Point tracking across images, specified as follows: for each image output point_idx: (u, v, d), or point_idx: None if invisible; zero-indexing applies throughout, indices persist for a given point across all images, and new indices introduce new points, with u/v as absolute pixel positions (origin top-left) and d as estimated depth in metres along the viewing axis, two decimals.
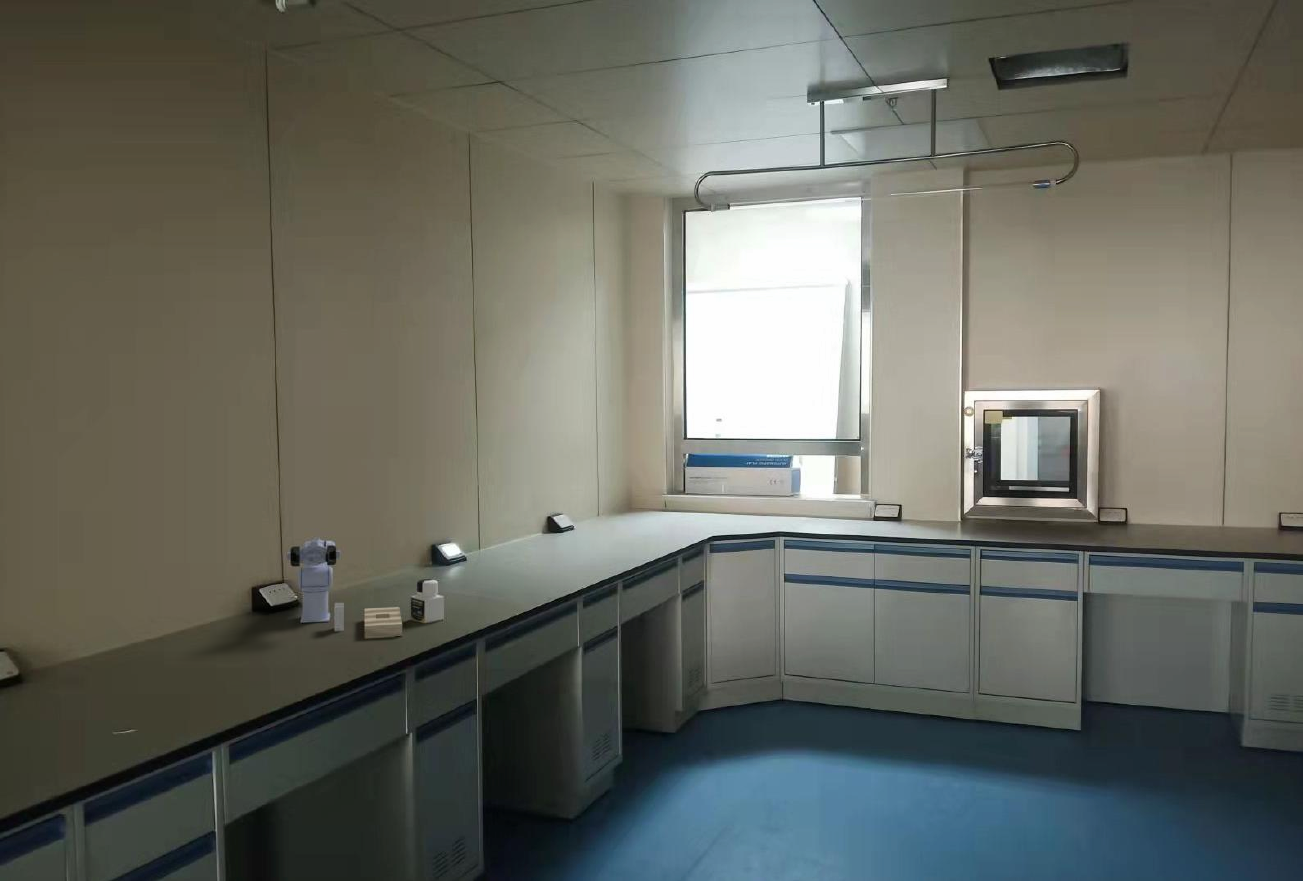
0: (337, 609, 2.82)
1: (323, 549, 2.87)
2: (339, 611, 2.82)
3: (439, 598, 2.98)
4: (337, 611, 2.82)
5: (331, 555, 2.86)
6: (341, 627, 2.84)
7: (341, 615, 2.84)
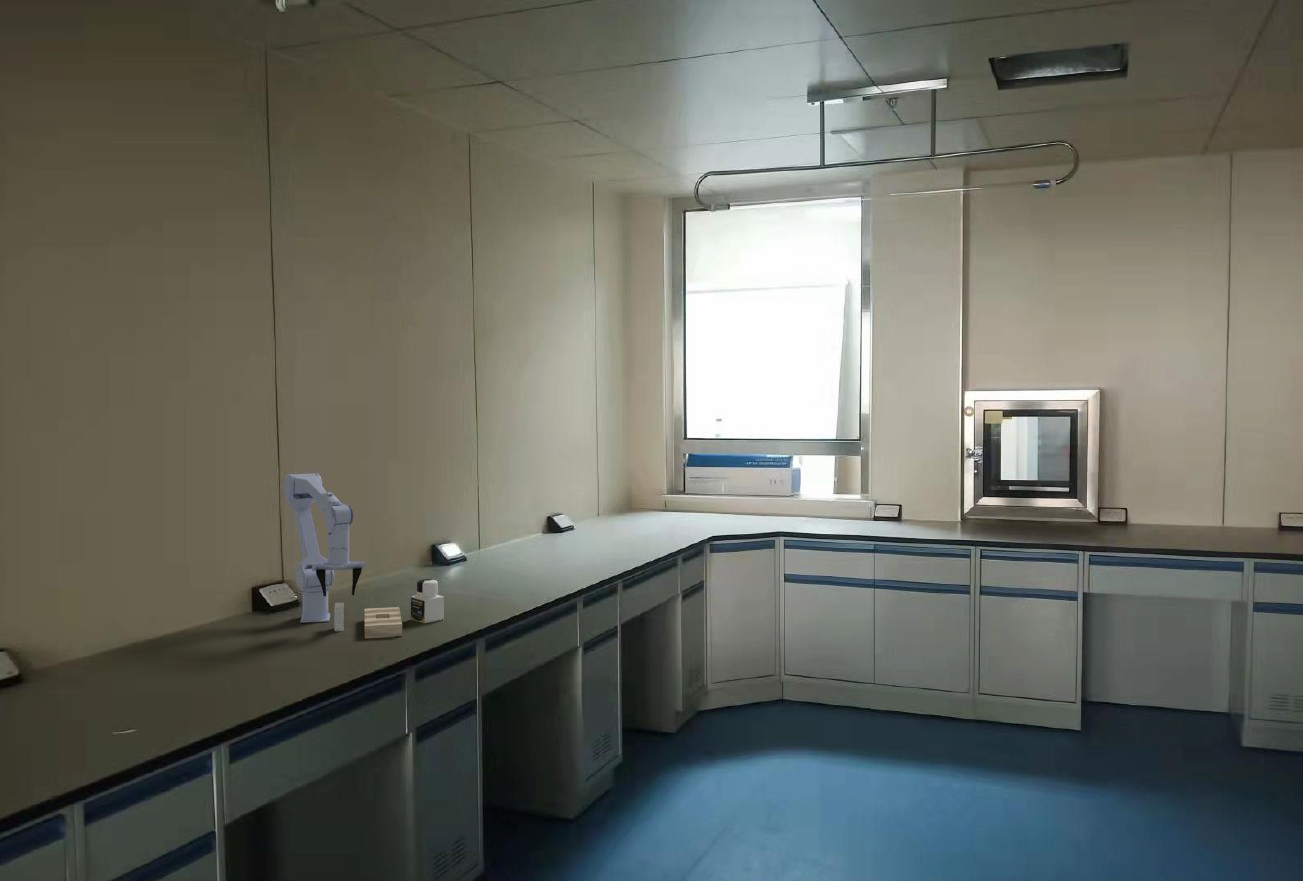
0: (337, 609, 2.82)
1: None
2: (339, 611, 2.82)
3: (439, 598, 2.98)
4: (337, 611, 2.82)
5: None
6: (341, 627, 2.84)
7: (341, 615, 2.84)
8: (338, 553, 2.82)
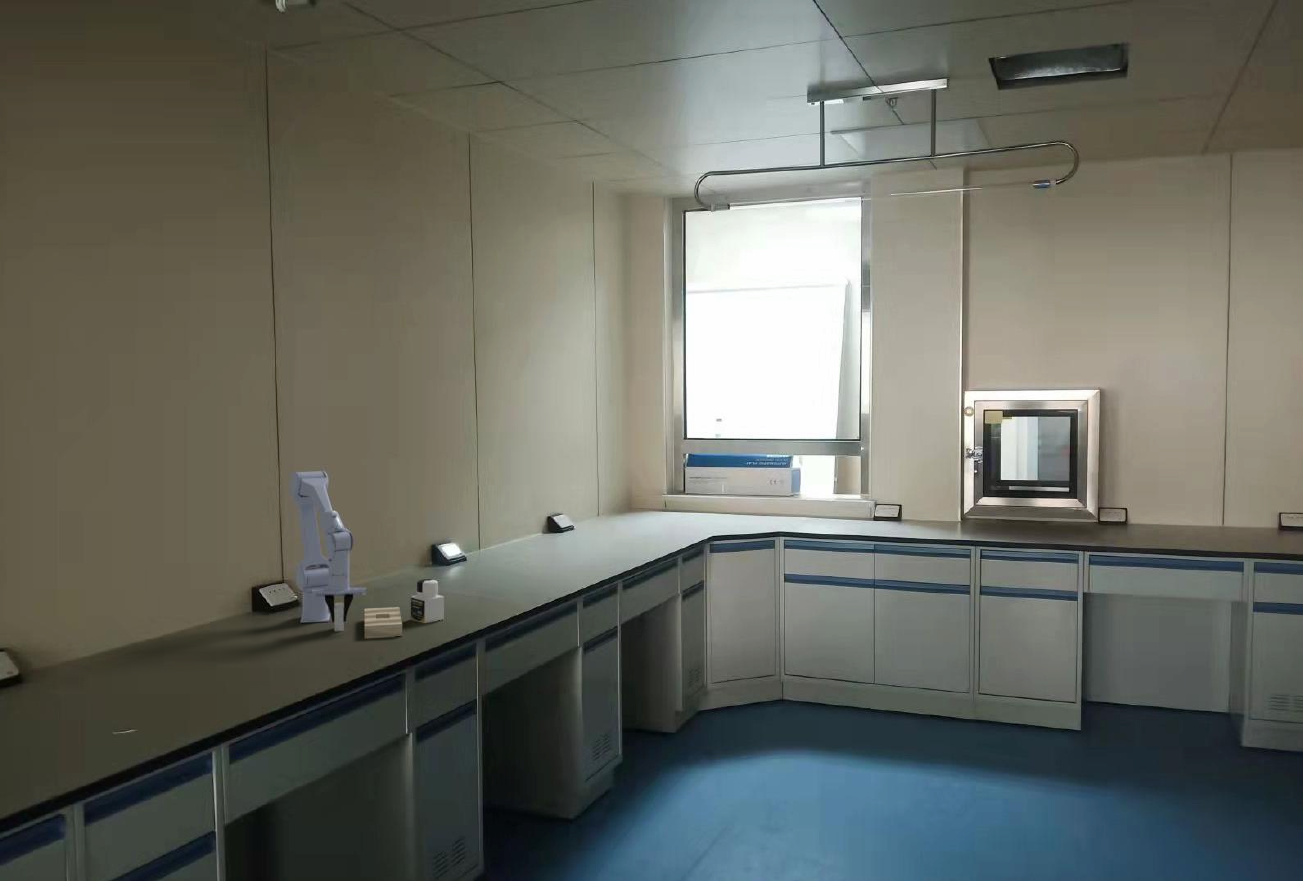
0: (337, 609, 2.82)
1: (348, 592, 2.85)
2: (339, 611, 2.82)
3: (439, 598, 2.98)
4: (337, 611, 2.82)
5: None
6: (341, 627, 2.84)
7: (341, 615, 2.84)
8: (338, 580, 2.82)
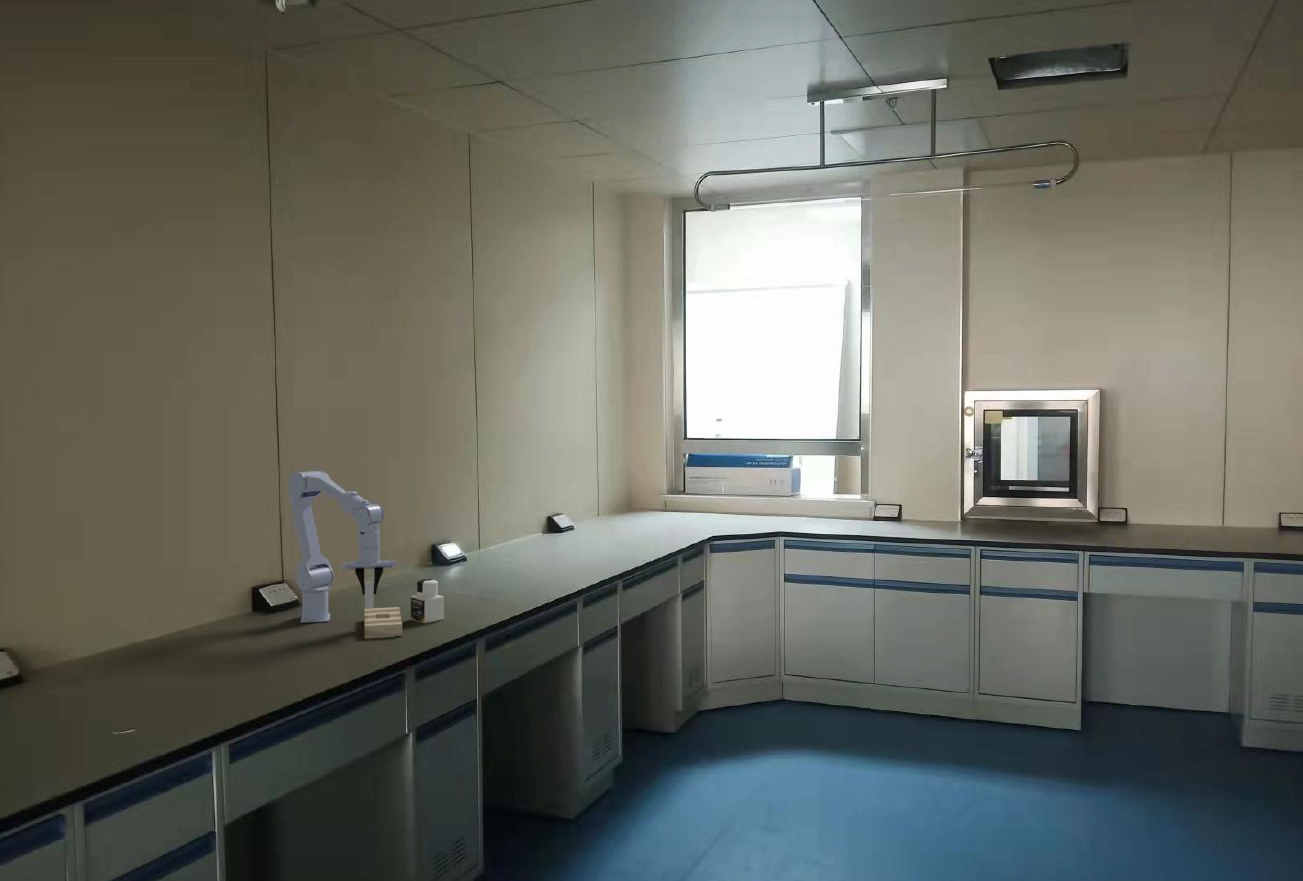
0: (367, 587, 2.83)
1: None
2: (369, 589, 2.84)
3: (439, 598, 2.98)
4: (367, 589, 2.83)
5: None
6: (371, 605, 2.85)
7: (371, 593, 2.85)
8: (368, 552, 2.84)
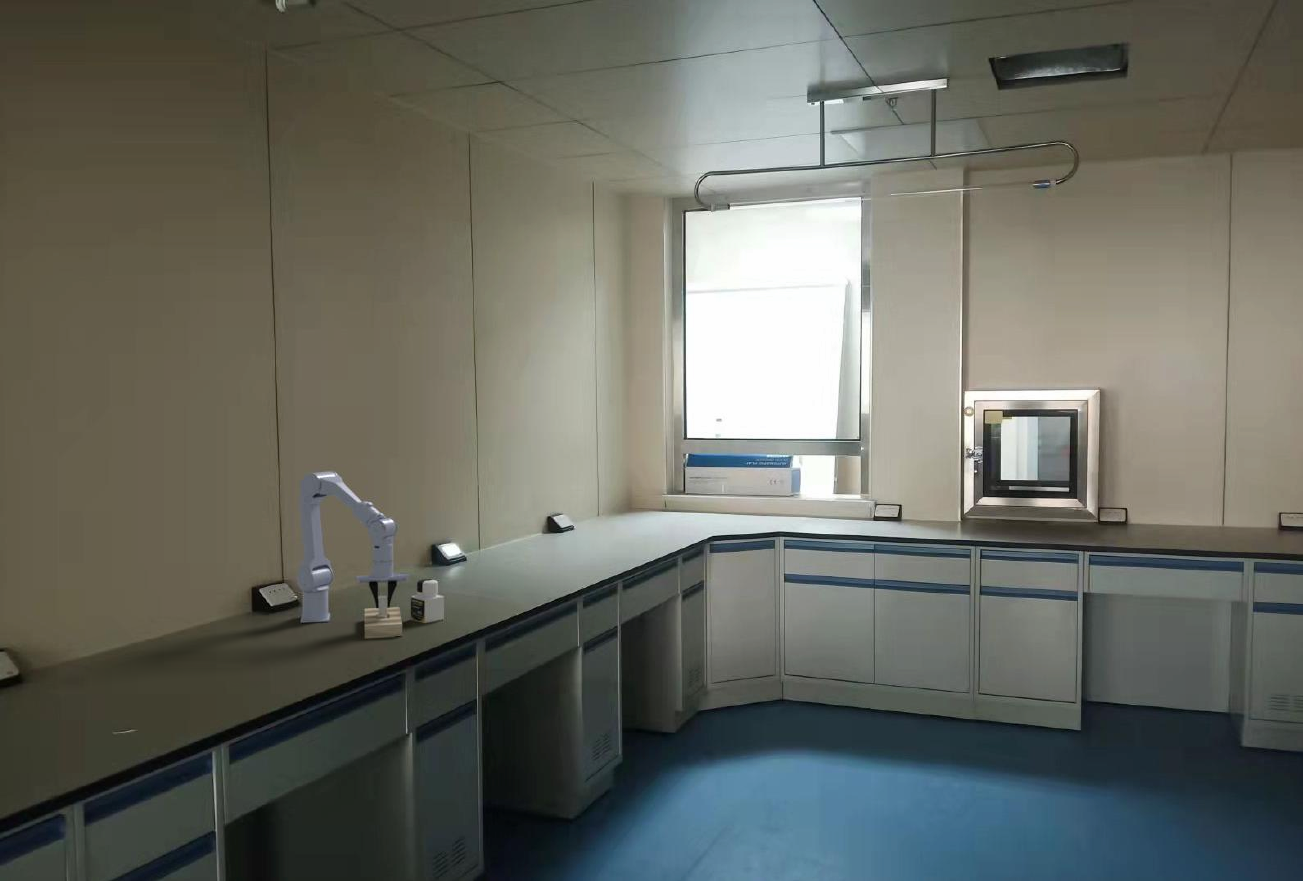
0: (381, 602, 2.84)
1: (392, 579, 2.87)
2: (383, 604, 2.84)
3: (439, 598, 2.98)
4: (381, 604, 2.84)
5: None
6: None
7: (385, 608, 2.86)
8: (382, 566, 2.85)
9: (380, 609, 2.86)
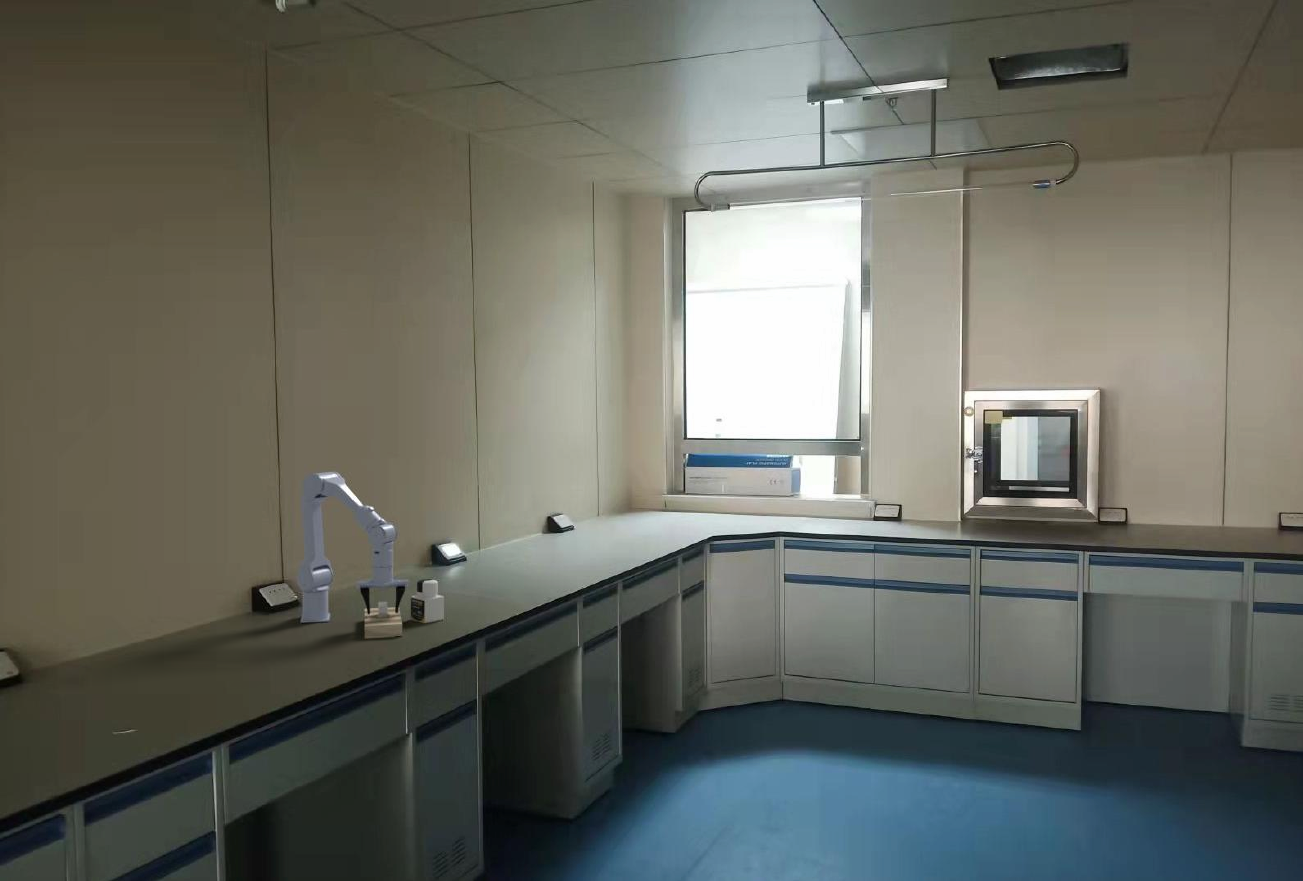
0: (381, 608, 2.84)
1: (392, 584, 2.87)
2: (383, 610, 2.85)
3: (439, 598, 2.98)
4: (381, 610, 2.84)
5: None
6: None
7: (385, 614, 2.86)
8: (382, 572, 2.85)
9: (380, 615, 2.86)
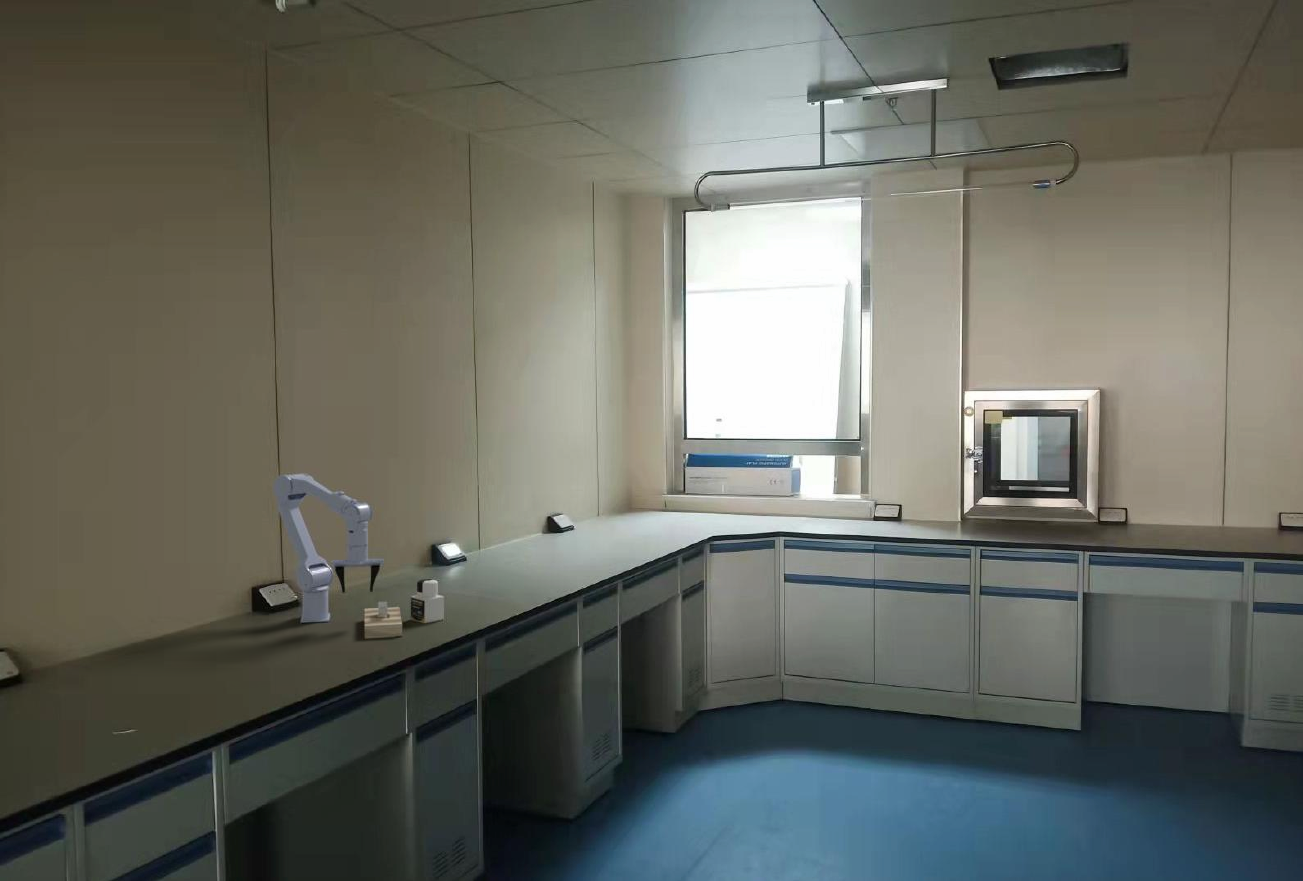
0: (381, 608, 2.84)
1: (367, 563, 2.89)
2: (383, 610, 2.85)
3: (439, 598, 2.98)
4: (381, 610, 2.84)
5: None
6: None
7: (385, 614, 2.86)
8: (357, 551, 2.87)
9: (380, 615, 2.86)
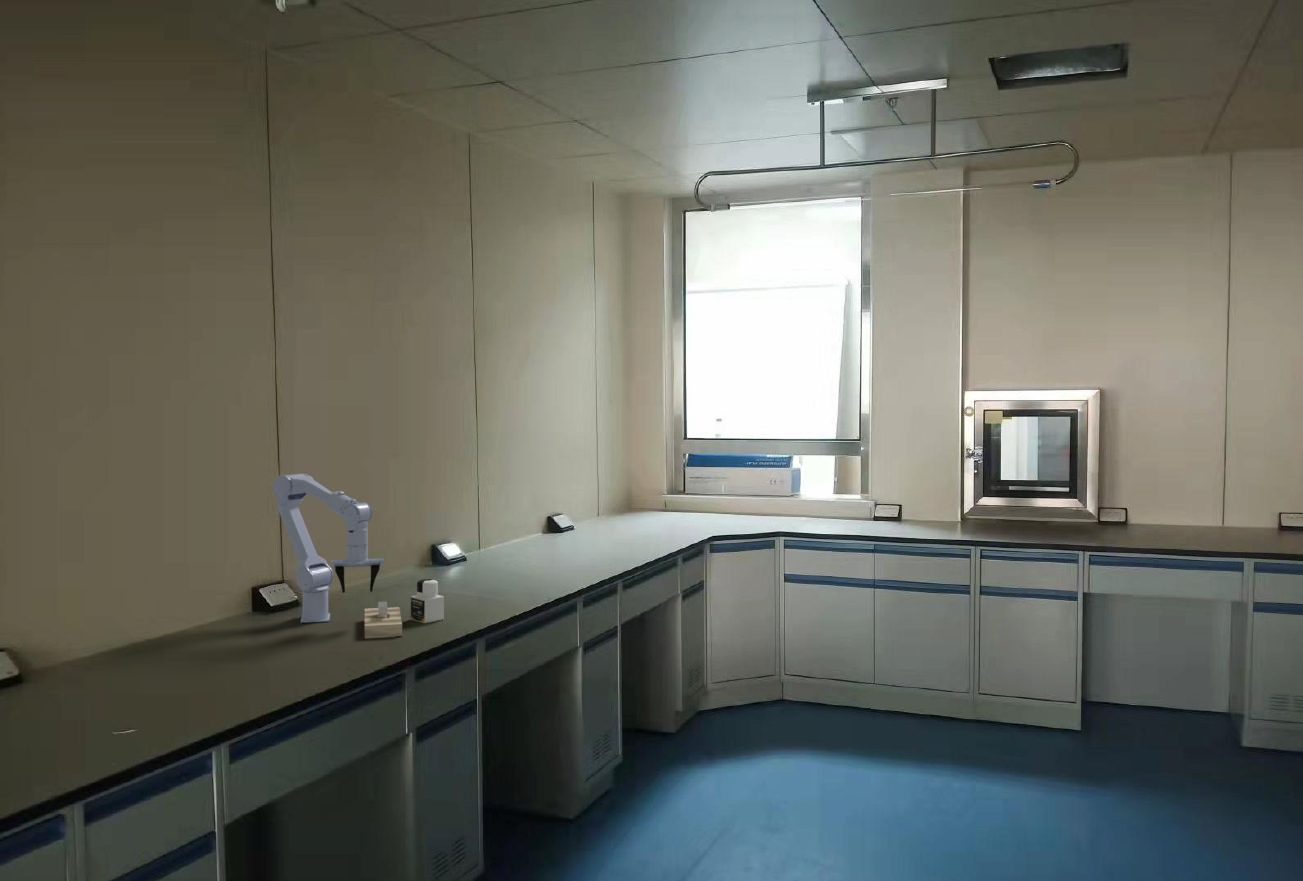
0: (381, 608, 2.84)
1: None
2: (383, 610, 2.85)
3: (439, 598, 2.98)
4: (381, 610, 2.84)
5: None
6: None
7: (385, 614, 2.86)
8: (357, 551, 2.87)
9: (380, 615, 2.86)
